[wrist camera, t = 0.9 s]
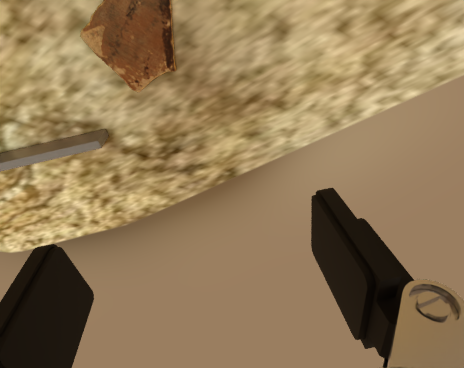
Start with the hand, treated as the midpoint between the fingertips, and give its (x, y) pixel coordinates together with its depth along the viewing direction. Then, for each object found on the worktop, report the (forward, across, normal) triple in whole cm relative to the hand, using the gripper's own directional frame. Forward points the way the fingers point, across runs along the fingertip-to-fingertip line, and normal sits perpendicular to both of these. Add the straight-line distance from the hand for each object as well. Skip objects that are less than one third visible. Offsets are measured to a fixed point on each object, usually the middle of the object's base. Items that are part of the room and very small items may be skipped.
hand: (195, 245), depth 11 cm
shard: (+22, +4, -7) cm, 24 cm away
